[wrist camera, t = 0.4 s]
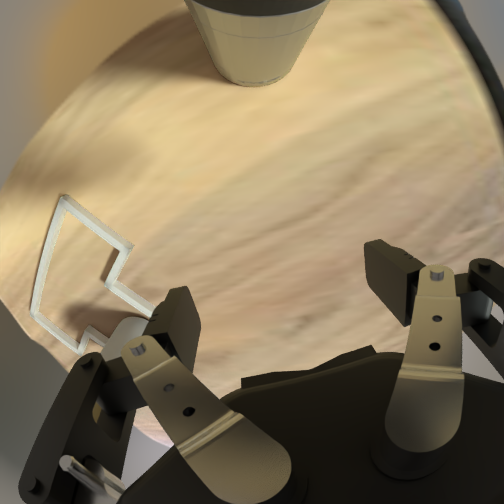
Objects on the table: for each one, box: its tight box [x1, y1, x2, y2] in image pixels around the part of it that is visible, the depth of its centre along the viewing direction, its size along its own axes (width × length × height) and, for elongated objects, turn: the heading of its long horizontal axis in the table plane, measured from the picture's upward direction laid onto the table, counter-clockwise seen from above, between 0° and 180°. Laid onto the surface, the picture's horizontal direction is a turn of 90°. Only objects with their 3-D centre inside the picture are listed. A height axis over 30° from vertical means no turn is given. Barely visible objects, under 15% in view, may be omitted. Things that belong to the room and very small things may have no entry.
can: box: [100, 317, 149, 361], centre depth 31 cm, size 8×8×12 cm
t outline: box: [30, 195, 156, 356], centre depth 35 cm, size 23×24×2 cm
